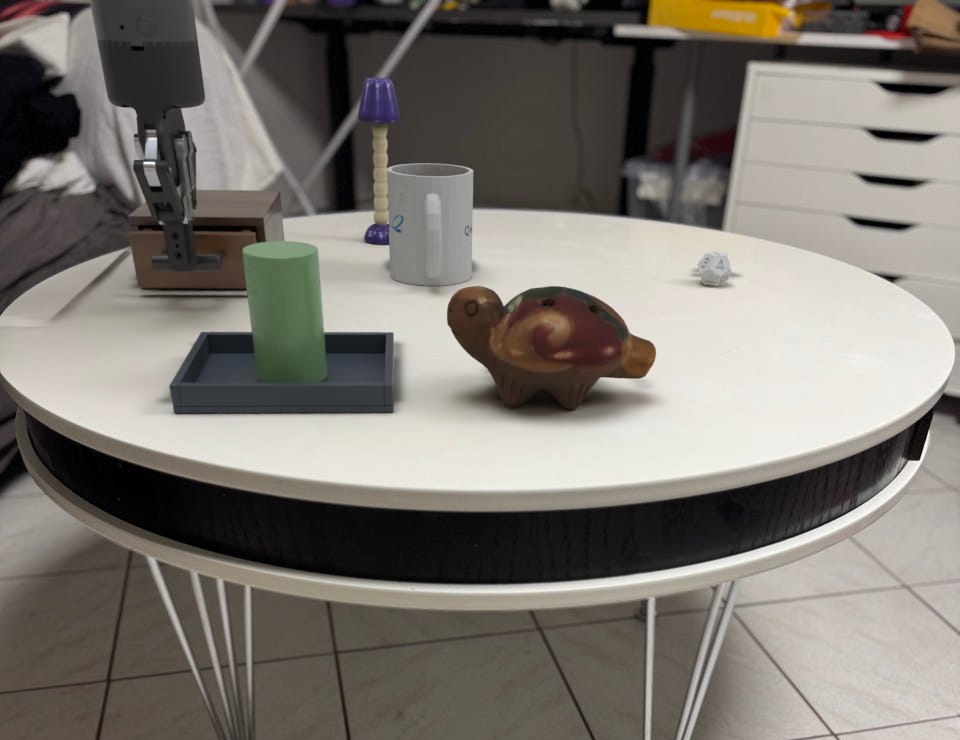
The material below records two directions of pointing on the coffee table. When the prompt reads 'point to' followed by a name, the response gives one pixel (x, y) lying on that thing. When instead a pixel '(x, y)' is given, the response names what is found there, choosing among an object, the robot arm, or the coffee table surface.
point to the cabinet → (227, 214)
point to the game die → (714, 268)
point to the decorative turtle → (547, 342)
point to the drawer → (214, 256)
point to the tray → (236, 389)
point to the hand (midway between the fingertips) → (184, 269)
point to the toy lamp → (379, 148)
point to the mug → (430, 223)
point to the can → (285, 311)
